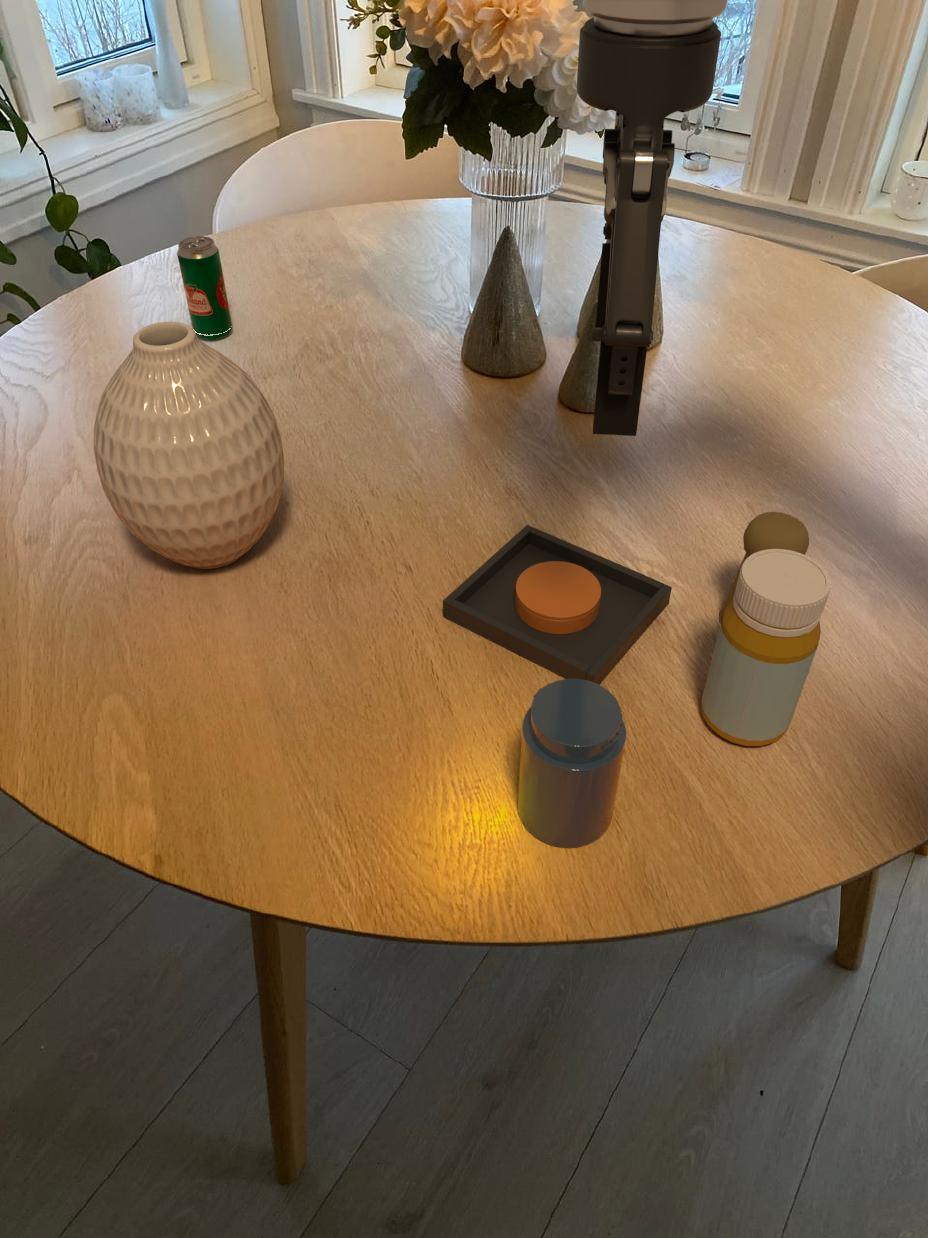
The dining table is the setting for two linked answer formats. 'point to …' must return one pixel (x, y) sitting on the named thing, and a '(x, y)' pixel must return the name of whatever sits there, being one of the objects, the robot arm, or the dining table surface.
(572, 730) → the jar
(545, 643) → the tray
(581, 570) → the lid
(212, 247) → the soda can
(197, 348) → the vase
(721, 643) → the bottle
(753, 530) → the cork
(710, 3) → the robot arm
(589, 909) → the dining table surface
